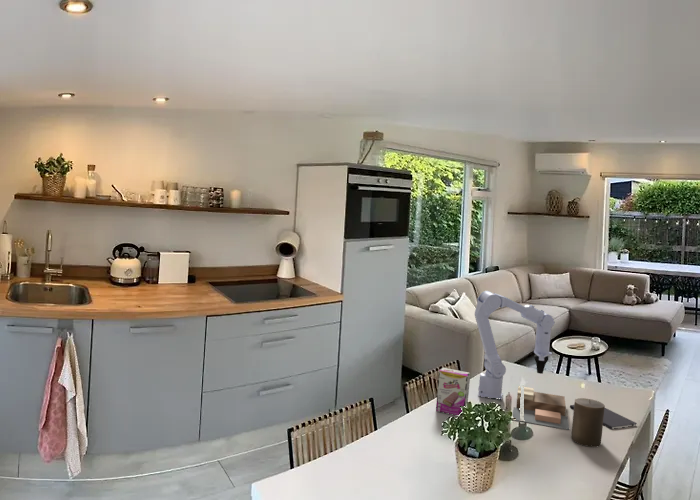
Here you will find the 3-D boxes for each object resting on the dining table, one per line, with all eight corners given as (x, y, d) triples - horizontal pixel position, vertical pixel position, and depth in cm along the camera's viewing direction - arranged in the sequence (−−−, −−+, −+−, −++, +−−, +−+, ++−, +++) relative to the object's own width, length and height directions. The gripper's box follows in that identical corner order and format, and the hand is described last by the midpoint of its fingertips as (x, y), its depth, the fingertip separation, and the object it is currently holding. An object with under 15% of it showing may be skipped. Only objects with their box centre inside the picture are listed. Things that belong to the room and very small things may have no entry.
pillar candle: (598, 450, 182) (603, 406, 181) (568, 441, 187) (572, 399, 186) (602, 440, 191) (607, 398, 189) (573, 432, 196) (577, 392, 194)
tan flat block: (516, 408, 216) (517, 398, 215) (517, 398, 227) (518, 389, 227) (564, 416, 210) (565, 406, 209) (563, 405, 221) (564, 396, 221)
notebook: (569, 408, 220) (611, 431, 200) (569, 405, 220) (612, 426, 200) (593, 406, 224) (637, 427, 205) (594, 402, 224) (637, 423, 204)
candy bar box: (435, 412, 208) (438, 370, 206) (438, 407, 212) (441, 366, 211) (464, 418, 203) (467, 375, 201) (467, 413, 208) (470, 372, 206)
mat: (511, 420, 204) (512, 419, 204) (513, 407, 216) (513, 407, 216) (569, 430, 197) (569, 429, 197) (567, 417, 210) (567, 416, 210)
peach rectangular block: (535, 408, 210) (535, 413, 210) (535, 414, 205) (534, 419, 205) (560, 412, 207) (559, 418, 207) (560, 418, 202) (560, 423, 202)
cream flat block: (533, 400, 214) (533, 395, 214) (517, 397, 216) (517, 392, 216) (533, 393, 223) (533, 388, 223) (518, 390, 225) (518, 385, 225)
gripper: (553, 346, 220) (550, 379, 221) (552, 338, 233) (549, 369, 235) (534, 344, 222) (531, 376, 223) (535, 336, 236) (532, 367, 237)
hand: (539, 373), depth 229 cm, fingers closed
